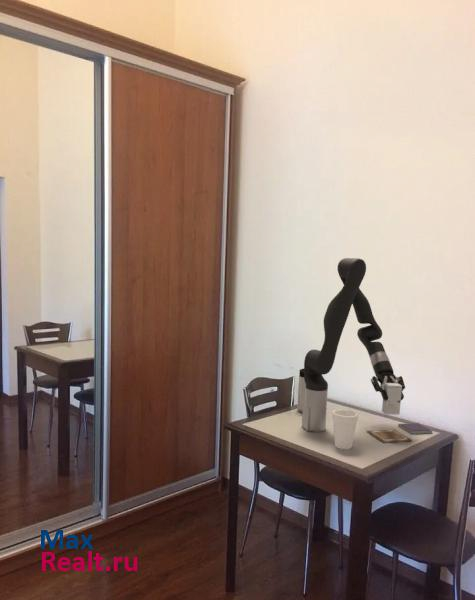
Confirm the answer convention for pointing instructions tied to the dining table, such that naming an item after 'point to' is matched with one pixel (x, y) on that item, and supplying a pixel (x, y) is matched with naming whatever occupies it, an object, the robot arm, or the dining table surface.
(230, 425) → the dining table surface
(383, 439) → the marked board
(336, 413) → the foam cup
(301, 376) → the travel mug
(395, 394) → the skincare box
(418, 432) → the ink pad
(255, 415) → the dining table surface
